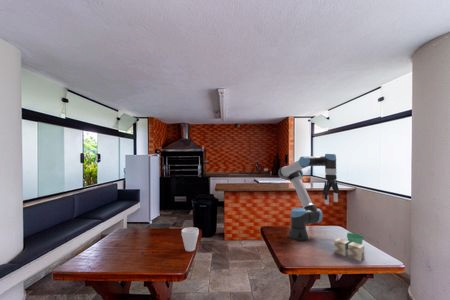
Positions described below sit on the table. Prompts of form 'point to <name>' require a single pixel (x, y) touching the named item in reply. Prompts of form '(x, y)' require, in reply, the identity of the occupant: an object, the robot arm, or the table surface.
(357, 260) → the rail board
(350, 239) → the mug
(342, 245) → the cream toy block
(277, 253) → the table surface
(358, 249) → the cream patterned block
